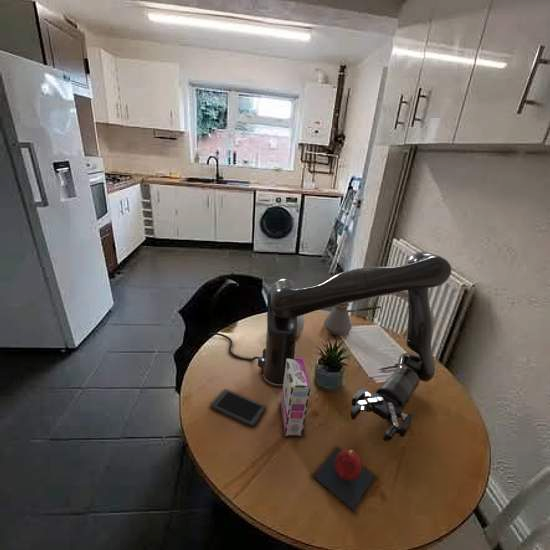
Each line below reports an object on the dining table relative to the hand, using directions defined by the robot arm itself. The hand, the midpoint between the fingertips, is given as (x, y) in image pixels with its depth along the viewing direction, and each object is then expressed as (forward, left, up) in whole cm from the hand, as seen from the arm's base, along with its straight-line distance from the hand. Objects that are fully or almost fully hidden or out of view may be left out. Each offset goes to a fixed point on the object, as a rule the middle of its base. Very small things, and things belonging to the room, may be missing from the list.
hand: (368, 427), depth 74 cm
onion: (0, -9, -9) cm, 12 cm away
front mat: (0, -9, -9) cm, 12 cm away
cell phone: (-32, -13, -9) cm, 35 cm away
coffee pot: (-30, +47, -9) cm, 56 cm away
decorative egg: (-47, +27, -9) cm, 55 cm away
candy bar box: (-19, -5, -9) cm, 21 cm away
